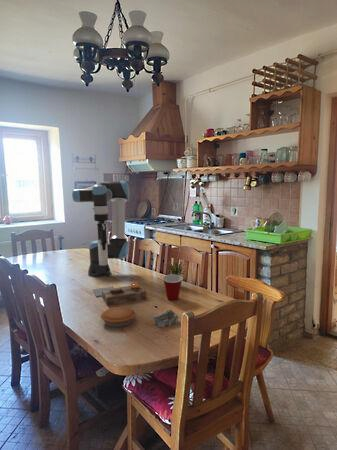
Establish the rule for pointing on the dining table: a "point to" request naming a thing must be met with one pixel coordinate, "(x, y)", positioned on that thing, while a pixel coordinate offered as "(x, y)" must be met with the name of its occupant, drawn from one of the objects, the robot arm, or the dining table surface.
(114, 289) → the housing
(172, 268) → the house plant
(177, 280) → the plastic cup
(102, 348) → the dining table surface
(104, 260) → the cartridge
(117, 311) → the pie
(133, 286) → the release button
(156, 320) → the egg carton
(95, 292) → the mat
